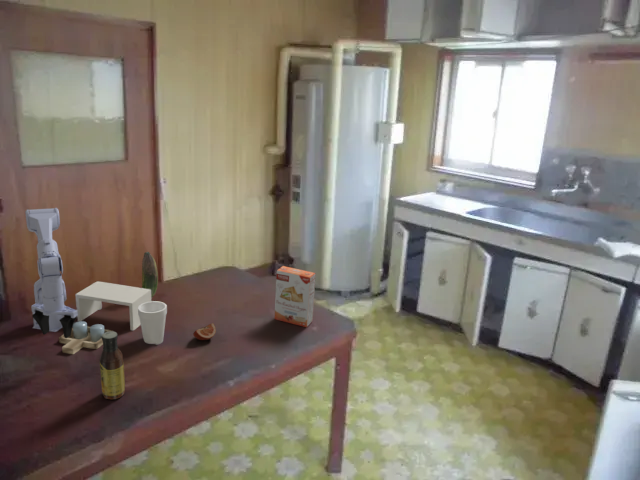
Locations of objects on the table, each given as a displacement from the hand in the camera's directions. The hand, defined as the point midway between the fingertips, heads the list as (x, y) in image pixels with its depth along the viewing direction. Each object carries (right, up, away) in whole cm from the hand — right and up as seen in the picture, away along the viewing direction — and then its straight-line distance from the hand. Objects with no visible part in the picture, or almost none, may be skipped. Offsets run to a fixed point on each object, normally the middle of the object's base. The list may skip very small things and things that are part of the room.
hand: (56, 334), depth 165 cm
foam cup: (+24, -6, +19) cm, 31 cm away
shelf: (+6, 0, +32) cm, 33 cm away
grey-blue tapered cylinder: (+6, -4, +17) cm, 18 cm away
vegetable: (+12, +6, +53) cm, 54 cm away
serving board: (+2, -6, +14) cm, 15 cm away
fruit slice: (+41, -6, +23) cm, 48 cm away
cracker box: (+72, -2, +40) cm, 82 cm away
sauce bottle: (+22, -16, -12) cm, 29 cm away
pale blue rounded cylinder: (-1, -4, +18) cm, 18 cm away
